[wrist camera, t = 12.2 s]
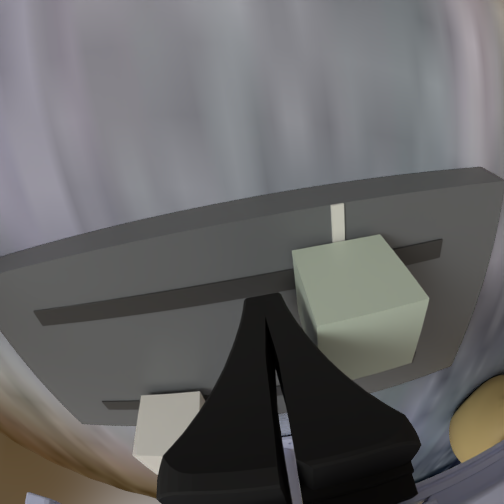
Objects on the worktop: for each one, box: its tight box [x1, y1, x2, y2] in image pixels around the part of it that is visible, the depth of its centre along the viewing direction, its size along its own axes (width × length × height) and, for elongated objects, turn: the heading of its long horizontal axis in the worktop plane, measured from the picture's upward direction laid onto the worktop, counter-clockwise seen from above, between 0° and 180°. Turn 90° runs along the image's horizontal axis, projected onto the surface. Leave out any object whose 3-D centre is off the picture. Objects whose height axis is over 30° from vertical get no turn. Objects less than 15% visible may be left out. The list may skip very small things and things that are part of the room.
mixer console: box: [0, 167, 504, 426], centre depth 16 cm, size 14×28×2 cm, turn 99°
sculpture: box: [449, 375, 504, 463], centre depth 23 cm, size 12×12×11 cm
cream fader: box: [133, 391, 205, 475], centre depth 16 cm, size 3×4×4 cm
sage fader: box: [292, 234, 429, 380], centre depth 11 cm, size 3×4×4 cm
